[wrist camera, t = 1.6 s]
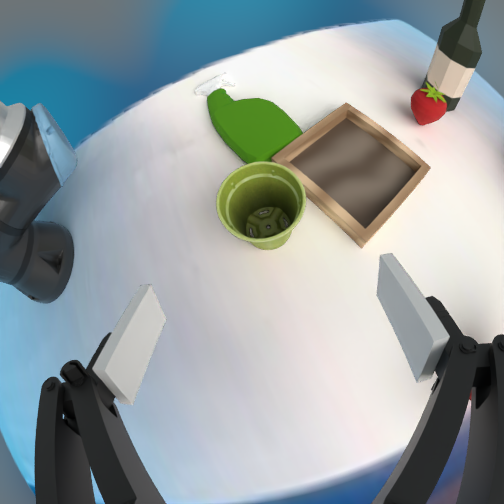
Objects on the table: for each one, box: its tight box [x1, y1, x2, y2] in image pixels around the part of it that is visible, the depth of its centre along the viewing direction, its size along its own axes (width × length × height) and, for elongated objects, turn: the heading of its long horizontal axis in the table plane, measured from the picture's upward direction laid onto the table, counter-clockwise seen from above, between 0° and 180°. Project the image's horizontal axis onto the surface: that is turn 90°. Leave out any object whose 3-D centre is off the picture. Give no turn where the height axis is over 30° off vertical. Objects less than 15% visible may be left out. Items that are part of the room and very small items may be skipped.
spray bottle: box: [195, 73, 303, 164], centre depth 42 cm, size 3×11×24 cm
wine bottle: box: [422, 0, 485, 112], centre depth 25 cm, size 8×8×30 cm
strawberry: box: [411, 82, 447, 125], centre depth 33 cm, size 6×8×10 cm
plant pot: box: [216, 162, 306, 250], centre depth 32 cm, size 9×9×9 cm
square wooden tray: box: [272, 103, 431, 248], centre depth 36 cm, size 17×17×2 cm
